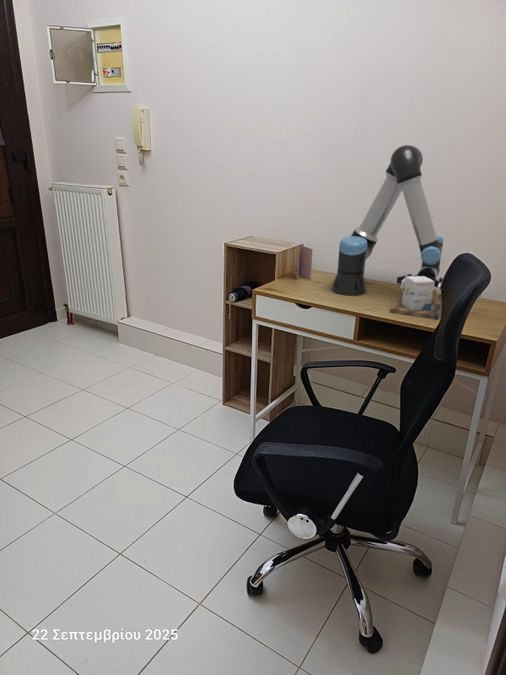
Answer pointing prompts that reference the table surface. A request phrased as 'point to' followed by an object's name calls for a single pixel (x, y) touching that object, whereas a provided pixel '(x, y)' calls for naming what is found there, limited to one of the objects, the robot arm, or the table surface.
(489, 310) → the table surface
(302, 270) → the greeting card
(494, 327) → the table surface
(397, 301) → the walnut stand
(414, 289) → the ink box
